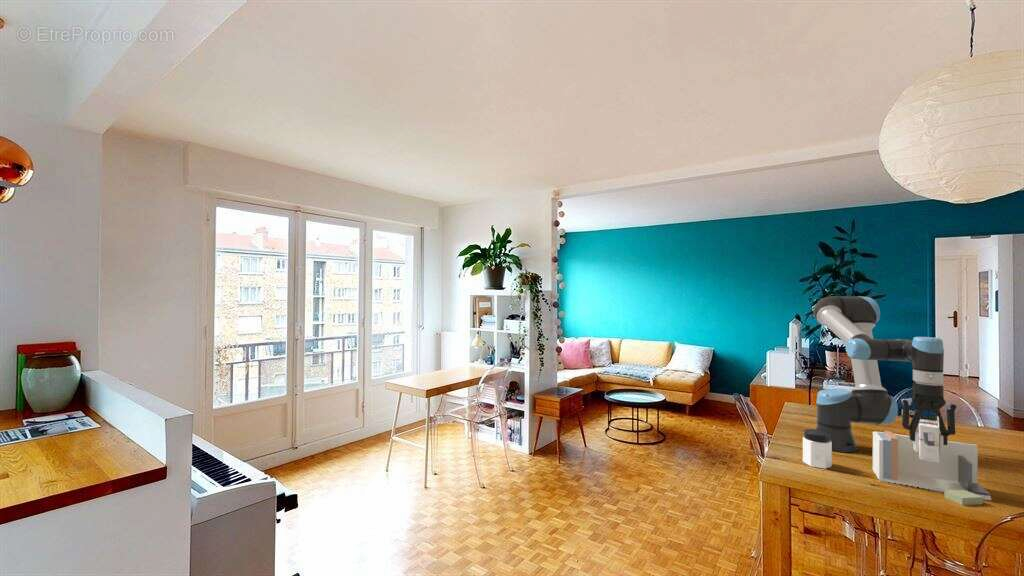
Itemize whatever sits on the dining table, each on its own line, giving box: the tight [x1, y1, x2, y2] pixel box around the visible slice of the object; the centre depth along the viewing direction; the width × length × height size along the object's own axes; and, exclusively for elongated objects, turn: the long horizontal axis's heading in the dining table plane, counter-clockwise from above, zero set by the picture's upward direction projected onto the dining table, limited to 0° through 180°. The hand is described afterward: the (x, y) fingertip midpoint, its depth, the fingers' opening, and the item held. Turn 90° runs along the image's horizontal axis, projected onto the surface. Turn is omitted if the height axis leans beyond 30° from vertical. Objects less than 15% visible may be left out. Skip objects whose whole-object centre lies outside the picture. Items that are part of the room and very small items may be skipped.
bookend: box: [958, 455, 991, 496], centre depth 141 cm, size 5×8×9 cm, turn 150°
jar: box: [802, 428, 833, 470], centre depth 163 cm, size 9×8×12 cm
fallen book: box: [943, 490, 984, 506], centre depth 135 cm, size 7×5×2 cm
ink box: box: [917, 416, 940, 463], centre depth 146 cm, size 9×5×15 cm, turn 141°
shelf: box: [872, 430, 992, 501], centre depth 147 cm, size 27×11×15 cm, turn 60°
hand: (928, 452), depth 146 cm, fingers closed on ink box, 5 cm apart
